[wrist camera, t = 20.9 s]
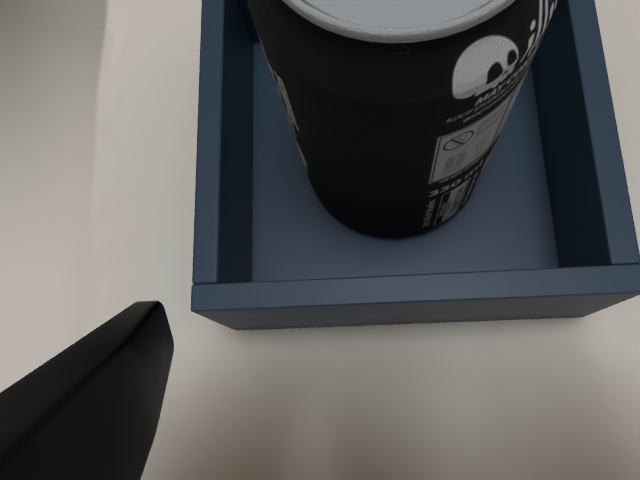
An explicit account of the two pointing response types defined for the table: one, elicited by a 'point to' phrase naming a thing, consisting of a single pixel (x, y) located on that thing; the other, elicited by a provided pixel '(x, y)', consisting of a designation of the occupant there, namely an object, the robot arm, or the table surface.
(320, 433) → the table surface
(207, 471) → the table surface
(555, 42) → the tub
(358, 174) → the beverage can
